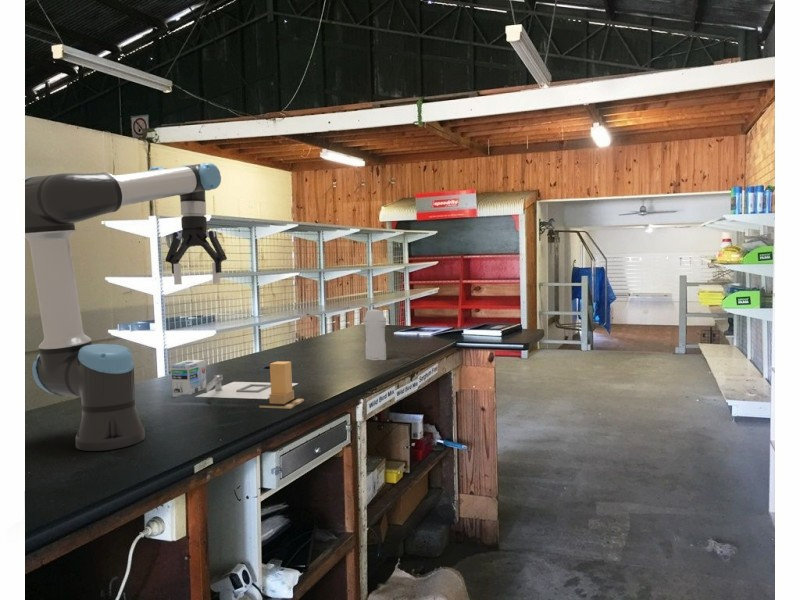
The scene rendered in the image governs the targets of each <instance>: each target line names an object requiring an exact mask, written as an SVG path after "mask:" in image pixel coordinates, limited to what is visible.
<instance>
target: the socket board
mask: <svg viewBox="0 0 800 600" xmlns="http://www.w3.org/2000/svg"><path fill="white" fill-rule="evenodd" d="M298 384H299V383H296V382H292V387H294V386H296V385H298ZM214 387H215V388H213V389H210V390H209V391H208V392H207V393H203V392H202V393H201V394H198V395H195V396H194V397H195V398H224V399H225V398H226V399H250V400H251V399H252V400H253V399H257V400H268V399H269V395H270V394H271V382H259V381H258V382H257V381H255V382H253V381H251V382H250V381H248V382H247V381H232V382H230V383H227V384H225V385H222V381H218V382H217V383H216V384H215V385H214Z"/></svg>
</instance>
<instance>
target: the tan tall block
mask: <svg viewBox="0 0 800 600" xmlns="http://www.w3.org/2000/svg"><path fill="white" fill-rule="evenodd" d="M269 376H270V383H271V394H270V395H269V398H268V399H269V404H271V405H286V404H287V403H289V402H291V401H293V400H295V390H294V389H293V386H292V383H293V375H292V361H278V360H277V361H274V362H272V363H269Z"/></svg>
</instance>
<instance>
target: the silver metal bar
mask: <svg viewBox="0 0 800 600" xmlns="http://www.w3.org/2000/svg"><path fill="white" fill-rule="evenodd" d="M223 378H224V376H223V374H216V375H213V379H212V380H210V382H209V383H206V386H205V387H204V388H203V390H202V394H203V393H207V392H208V391H211V390H212V388H213V387H215V384H216V383H217V382H218V381H221V382H222V381H224V379H223Z"/></svg>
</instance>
